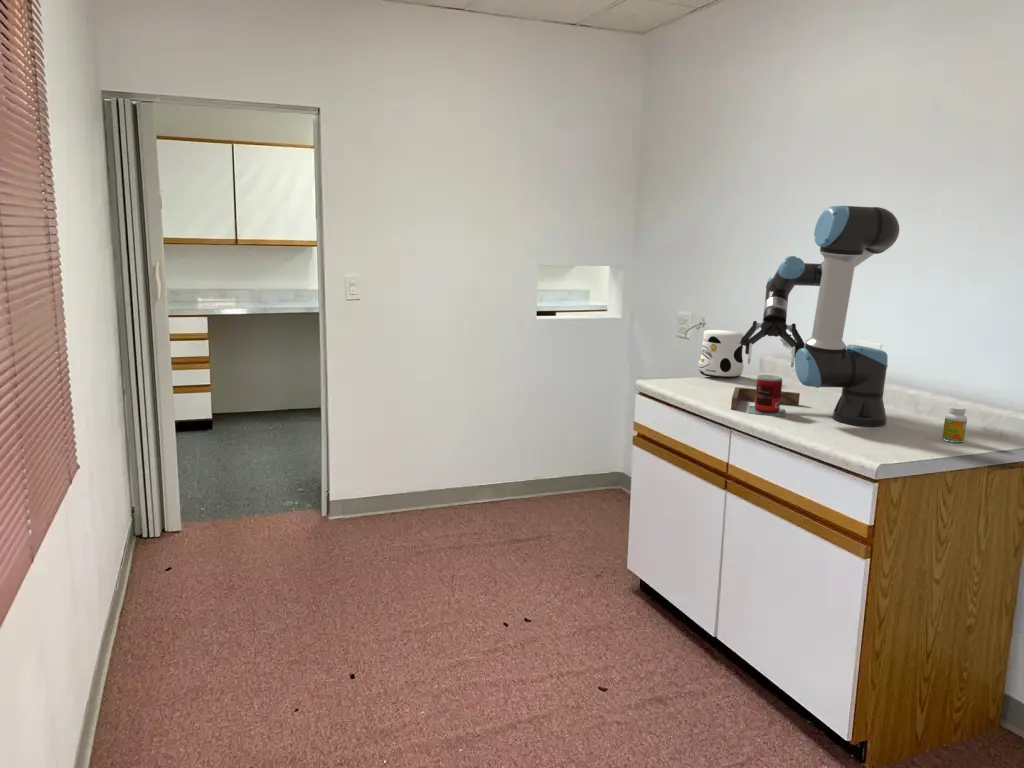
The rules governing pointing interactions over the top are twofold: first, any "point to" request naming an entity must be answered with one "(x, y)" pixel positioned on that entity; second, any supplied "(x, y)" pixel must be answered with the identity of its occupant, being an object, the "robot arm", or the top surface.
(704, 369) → the milk container
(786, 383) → the top surface
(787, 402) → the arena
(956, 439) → the supplement bottle
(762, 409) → the canned food
